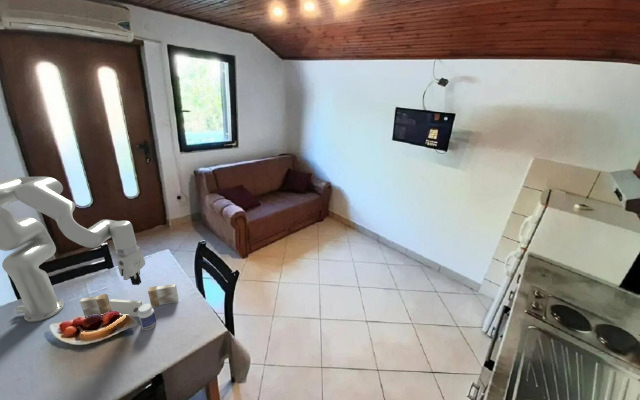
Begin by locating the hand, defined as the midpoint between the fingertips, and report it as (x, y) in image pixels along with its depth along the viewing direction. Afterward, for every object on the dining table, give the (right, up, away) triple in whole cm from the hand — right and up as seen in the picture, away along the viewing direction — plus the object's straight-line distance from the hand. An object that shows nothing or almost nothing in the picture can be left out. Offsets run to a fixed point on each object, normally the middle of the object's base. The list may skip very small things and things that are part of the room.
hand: (136, 283), depth 119 cm
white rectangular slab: (-3, -14, -1) cm, 15 cm away
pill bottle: (+9, -17, -5) cm, 19 cm away
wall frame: (-4, -12, +3) cm, 13 cm away
